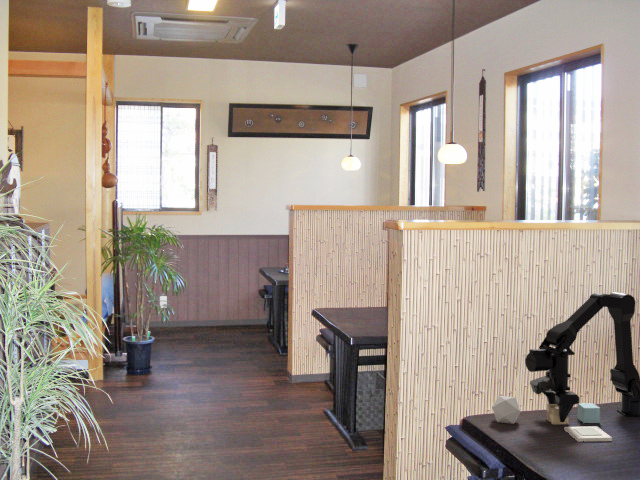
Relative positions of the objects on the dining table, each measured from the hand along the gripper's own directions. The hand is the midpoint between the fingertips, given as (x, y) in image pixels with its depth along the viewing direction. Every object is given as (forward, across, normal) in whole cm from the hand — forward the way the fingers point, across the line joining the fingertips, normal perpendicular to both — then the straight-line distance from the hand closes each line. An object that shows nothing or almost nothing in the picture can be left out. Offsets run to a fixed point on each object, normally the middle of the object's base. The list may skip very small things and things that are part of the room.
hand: (557, 418), depth 220 cm
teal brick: (+1, 0, +10) cm, 10 cm away
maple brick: (+1, 0, 0) cm, 1 cm away
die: (+1, -1, -16) cm, 16 cm away
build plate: (+1, +13, +4) cm, 14 cm away
